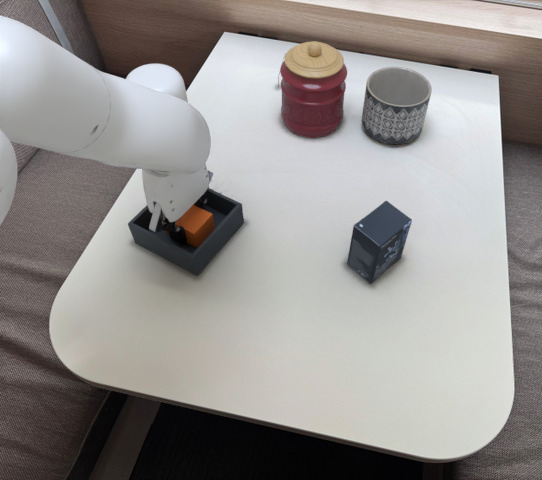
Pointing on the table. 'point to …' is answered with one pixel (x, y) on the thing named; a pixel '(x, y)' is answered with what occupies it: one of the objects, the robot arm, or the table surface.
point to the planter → (395, 104)
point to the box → (378, 241)
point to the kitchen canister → (313, 89)
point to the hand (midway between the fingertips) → (189, 228)
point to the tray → (186, 255)
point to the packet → (197, 225)
